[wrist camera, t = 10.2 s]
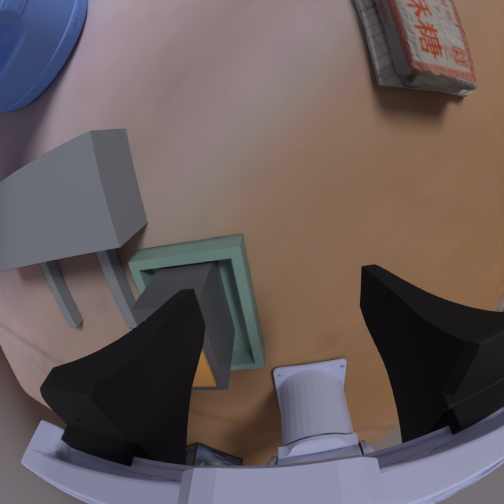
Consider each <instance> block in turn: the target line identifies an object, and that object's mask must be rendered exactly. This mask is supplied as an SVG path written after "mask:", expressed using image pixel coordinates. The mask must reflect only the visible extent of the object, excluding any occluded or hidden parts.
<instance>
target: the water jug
mask: <svg viewBox="0 0 504 504" xmlns="http://www.w3.org/2000/svg"><path fill="white" fill-rule="evenodd" d="M87 5H88V0H0V112H8V111H15V110H18V109H20V108H22V107H24V106H26V105H28V104H29V103H31V102H32V101H33V100H34V99H36V98H37V97H38V96H39V95H40V94H41V93H42V92H43V91H44V90H45V89H46V88H47V87H48V85H49V84H50V83H51V82H52V81H53V79H54V78H55V77H56V75H57V74H58V72H59V71H60V70H61V68H62V67H63V65H64V63H65V62H66V60H67V58H68V57H69V55H70V53H71V51H72V49H73V48H74V46H75V43H76V41H77V39H78V37H79V35H80V32H81V29H82V27H83V24H84V20H85V17H86V12H87Z"/></svg>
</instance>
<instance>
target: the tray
mask: <svg viewBox="0 0 504 504" xmlns="http://www.w3.org/2000/svg"><path fill="white" fill-rule="evenodd" d="M214 260H218V264H219V268H220V272H221V276H222V280H223V284H224V288H225V292H226V296H227V300H228V304H229V308H230V312H231V315H232V319H233V323H234V327H235V338H234V345H233V353H232V361H231V369H230V371H233V370H249V369H261V368H265V347H264V342H263V337H262V332H261V327H260V322H259V317H258V311H257V306H256V301H255V296H254V291H253V286H252V281H251V275H250V270H249V265H248V260H247V255H246V249H245V244H244V239H243V234H237V235H230V236H223V237H217V238H210V239H203V240H197V241H190V242H184V243H178V244H171V245H165V246H159V247H153V248H146V249H140V250H139V251H138V252H137V253H136V254H135V255H134V256H133V257H132V258H131V259H130V261H129V262H128V265H129V268H130V270H131V273H132V276H133V278H134V281H135V284H136V286H137V289H138V291H139V294H140V296H141V294H142V292H143V291H144V289H145V288H146V286H147V285H148V284H149V282H150V281H151V279H152V278H153V276H154V275H155V273H156V272H157V270H158V269H159V268H161V267H169V266H177V265H184V264H192V263H199V262H207V261H214Z"/></svg>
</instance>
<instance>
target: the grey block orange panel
mask: <svg viewBox="0 0 504 504" xmlns="http://www.w3.org/2000/svg"><path fill="white" fill-rule="evenodd" d="M193 288H194V291H195V294H196V297H197V300H198V303H199V306H200V309H201V313H202V316H203V319H204V322H205V324H206V327H205V336H204V344H203V348H202V352H201V355H200V359H199V363H198V366H197V370H196V374H195V378H194V381H193V385H192V390H219V389H228V384H229V376H230V369H231V361H232V353H233V345H234V338H235V327H234V323H233V319H232V315H231V312H230V308H229V304H228V300H227V296H226V292H225V288H224V284H223V280H222V276H221V272H220V268H219V264H218V260H214V261H207V262H199V263H192V264H184V265H177V266H169V267H161V268H159V269H158V270H157V272H156V273H155V275H154V276H153V278H152V279H151V281H150V282H149V284H148V285H147V286H146V288H145V289H144V291H143V292H142V294H141V296H140V297H139V299H138V300H137V302H136V303H135V305H134V306H133V308H132V309H131V310H132V312H133V314H134V317H135V319H136V321H137V323H138V325H139V324H141V323H142V322H143V321H144V320H145V319H147V318H148V317H149V316H150V315H152V314H153V313H154V312H155V311H156V310H157V309H158V308H160V307H161V306H162V305H163V304H164V303H165V302H166V301H168V300H169V299H170V298H171V297H172V296H173V295H175V294H176V293H177V292H178V291H180V290H183V289H193Z"/></svg>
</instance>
